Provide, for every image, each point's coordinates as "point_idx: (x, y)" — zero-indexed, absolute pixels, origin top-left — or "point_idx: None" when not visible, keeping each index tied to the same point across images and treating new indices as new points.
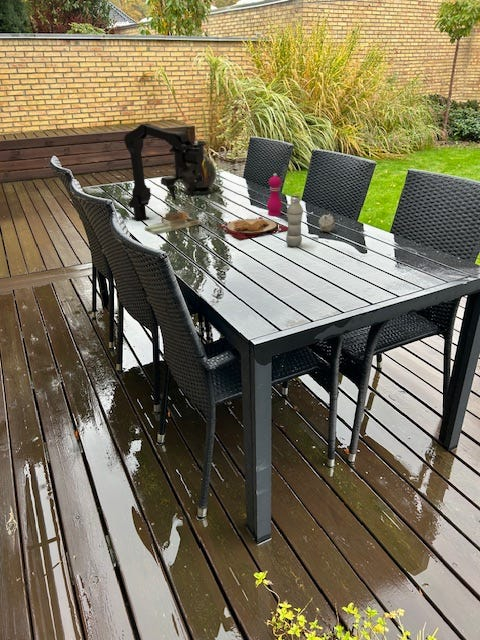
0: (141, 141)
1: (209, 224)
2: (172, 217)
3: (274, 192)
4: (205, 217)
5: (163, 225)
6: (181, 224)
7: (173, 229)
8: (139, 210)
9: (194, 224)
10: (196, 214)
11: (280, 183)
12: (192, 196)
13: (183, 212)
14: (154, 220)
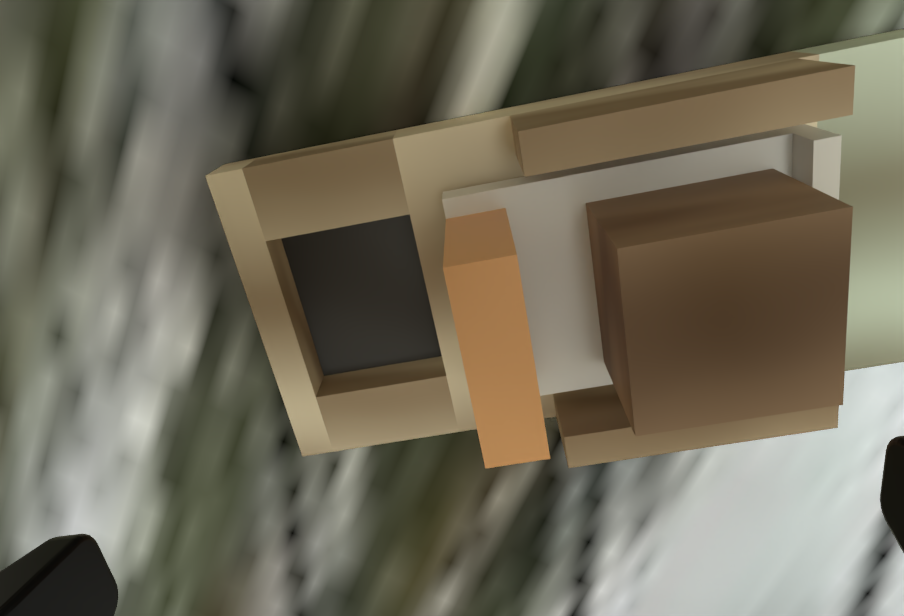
0: None
1: (66, 62)
2: (784, 203)
3: None
4: (52, 434)
5: (853, 242)
6: (591, 101)
7: (754, 59)
8: None
9: (321, 148)
10: (142, 593)
11: None
12: (58, 545)
13: (478, 314)
14: (712, 608)
